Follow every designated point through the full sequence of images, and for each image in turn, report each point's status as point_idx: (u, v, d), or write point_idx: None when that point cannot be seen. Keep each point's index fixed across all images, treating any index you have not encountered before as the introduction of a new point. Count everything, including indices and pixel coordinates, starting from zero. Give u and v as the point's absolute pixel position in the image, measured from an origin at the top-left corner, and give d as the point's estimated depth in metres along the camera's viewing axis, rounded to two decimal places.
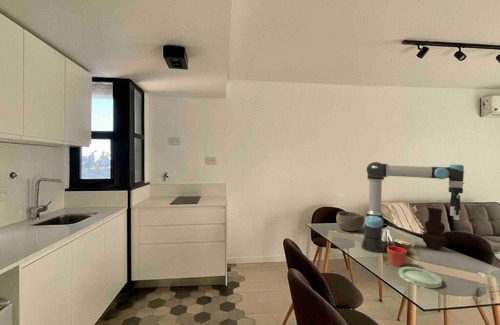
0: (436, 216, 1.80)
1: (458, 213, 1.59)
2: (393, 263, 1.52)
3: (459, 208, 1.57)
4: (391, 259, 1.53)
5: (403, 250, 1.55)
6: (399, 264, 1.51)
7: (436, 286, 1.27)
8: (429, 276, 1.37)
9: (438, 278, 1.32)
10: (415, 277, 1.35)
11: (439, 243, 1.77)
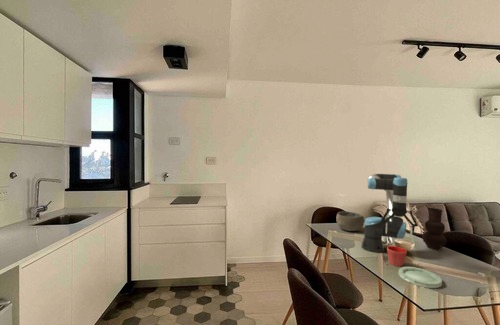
0: (436, 216, 1.80)
1: (383, 225, 1.58)
2: (393, 263, 1.52)
3: (381, 220, 1.59)
4: (391, 259, 1.53)
5: (403, 250, 1.55)
6: (399, 264, 1.51)
7: (436, 286, 1.27)
8: (429, 276, 1.37)
9: (438, 278, 1.32)
10: (415, 277, 1.35)
11: (439, 243, 1.77)
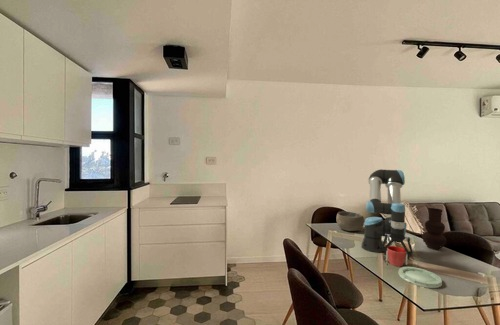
0: (436, 216, 1.80)
1: (384, 252, 1.58)
2: (393, 263, 1.52)
3: (381, 246, 1.58)
4: (391, 259, 1.53)
5: (403, 250, 1.55)
6: (399, 264, 1.51)
7: (436, 286, 1.27)
8: (429, 276, 1.37)
9: (438, 278, 1.32)
10: (415, 277, 1.35)
11: (439, 243, 1.77)
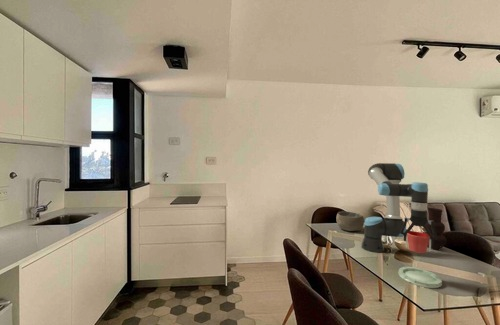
0: (436, 216, 1.80)
1: None
2: (414, 249, 1.35)
3: (400, 232, 1.41)
4: (412, 245, 1.36)
5: (425, 235, 1.38)
6: (421, 250, 1.33)
7: (436, 286, 1.27)
8: (429, 276, 1.37)
9: (438, 278, 1.32)
10: (415, 277, 1.35)
11: (439, 243, 1.77)
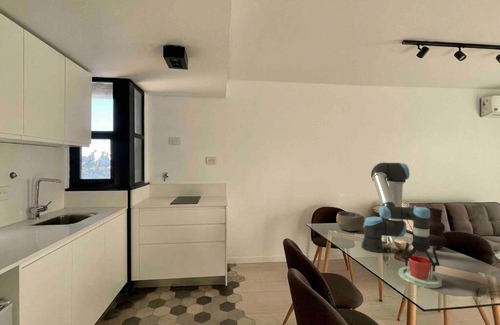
0: (436, 216, 1.80)
1: (405, 263, 1.39)
2: (416, 275, 1.34)
3: (402, 256, 1.40)
4: (414, 271, 1.35)
5: (427, 260, 1.37)
6: (423, 277, 1.32)
7: (436, 286, 1.27)
8: (429, 276, 1.37)
9: (438, 278, 1.32)
10: None
11: (439, 243, 1.77)
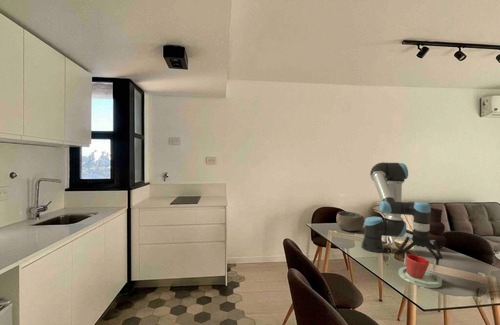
0: (436, 216, 1.80)
1: (402, 255, 1.40)
2: (412, 274, 1.35)
3: (399, 249, 1.41)
4: (410, 269, 1.35)
5: (424, 261, 1.37)
6: (419, 276, 1.33)
7: (436, 286, 1.27)
8: (429, 276, 1.37)
9: (438, 278, 1.32)
10: None
11: (439, 243, 1.77)
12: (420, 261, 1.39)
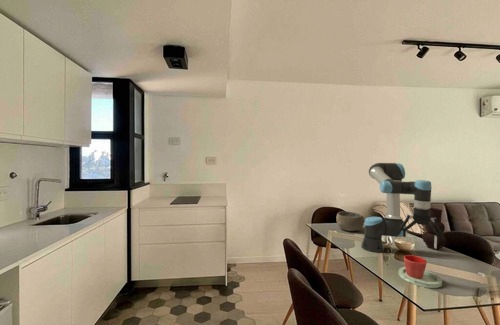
0: (436, 216, 1.80)
1: (403, 234, 1.40)
2: (411, 275, 1.35)
3: (400, 228, 1.40)
4: (409, 270, 1.36)
5: (422, 260, 1.38)
6: (418, 276, 1.33)
7: (436, 286, 1.27)
8: (429, 276, 1.37)
9: (438, 278, 1.32)
10: None
11: (439, 243, 1.77)
12: (418, 261, 1.40)
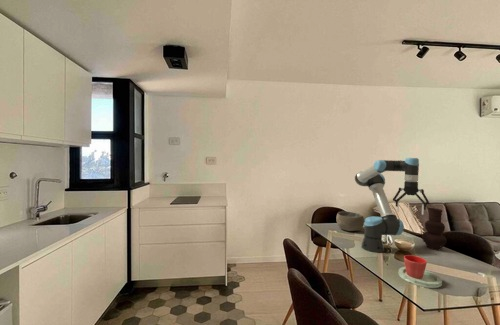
0: (436, 216, 1.80)
1: None
2: (411, 275, 1.35)
3: (393, 199, 1.64)
4: (409, 270, 1.36)
5: (422, 260, 1.38)
6: (418, 276, 1.33)
7: (436, 286, 1.27)
8: (429, 276, 1.37)
9: (438, 278, 1.32)
10: None
11: (439, 243, 1.77)
12: (418, 261, 1.40)
